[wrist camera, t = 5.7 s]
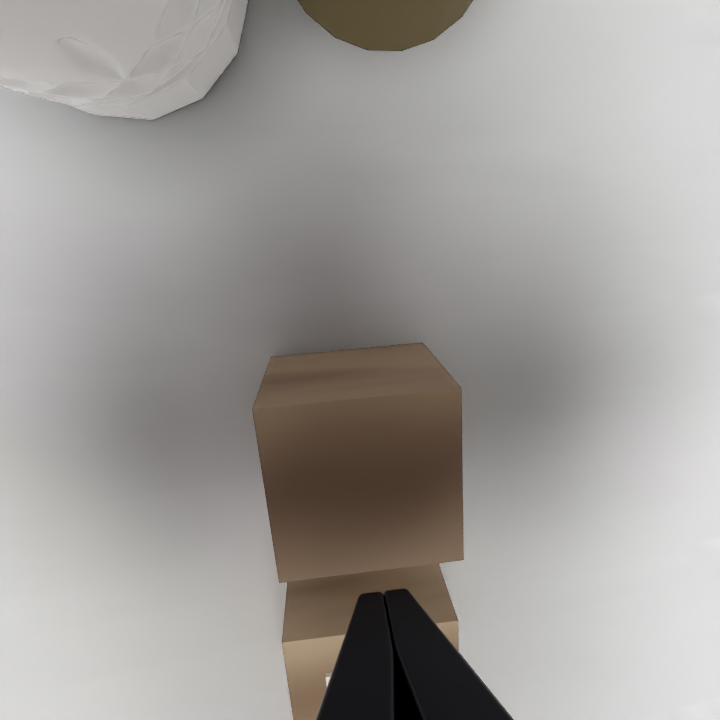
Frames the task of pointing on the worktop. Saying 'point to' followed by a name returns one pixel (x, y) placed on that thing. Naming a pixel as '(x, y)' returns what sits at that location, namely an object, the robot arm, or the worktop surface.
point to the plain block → (361, 460)
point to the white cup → (118, 52)
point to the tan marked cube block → (346, 623)
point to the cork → (385, 20)
